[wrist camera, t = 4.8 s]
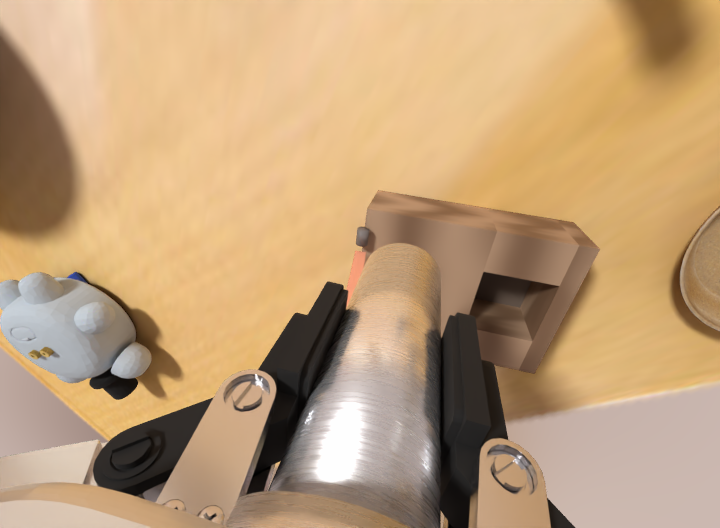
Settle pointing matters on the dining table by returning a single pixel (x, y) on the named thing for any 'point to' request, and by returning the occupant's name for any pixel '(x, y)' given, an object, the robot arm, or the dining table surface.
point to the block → (490, 268)
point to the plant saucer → (703, 272)
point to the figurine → (73, 332)
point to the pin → (368, 412)
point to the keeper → (355, 272)
